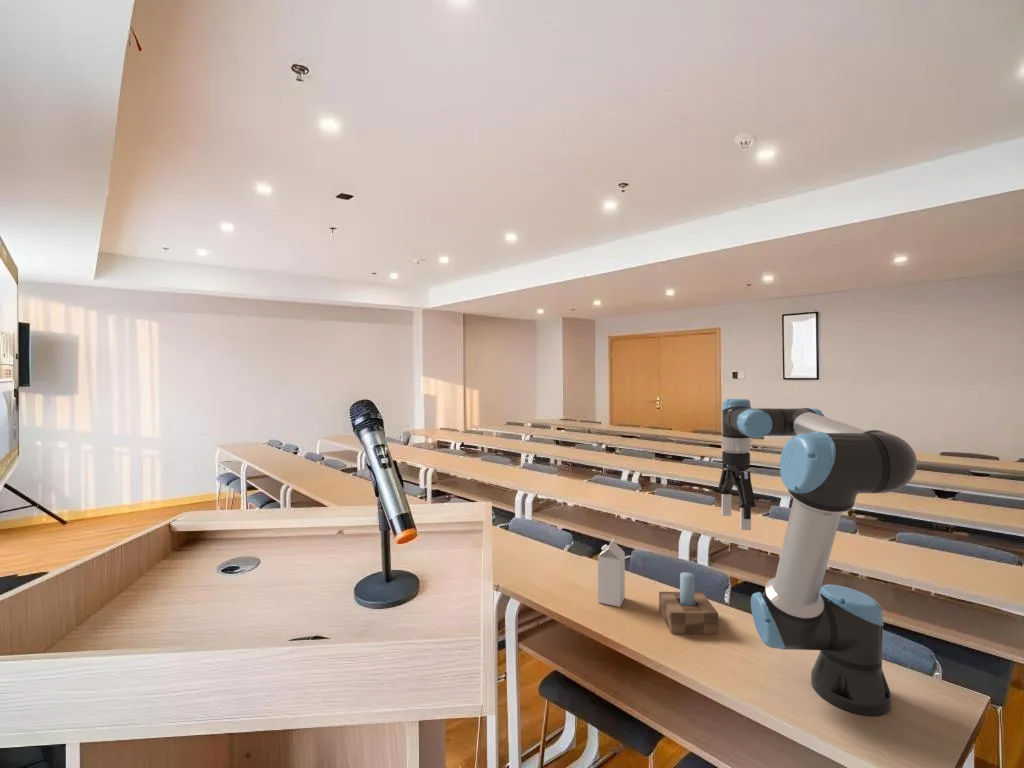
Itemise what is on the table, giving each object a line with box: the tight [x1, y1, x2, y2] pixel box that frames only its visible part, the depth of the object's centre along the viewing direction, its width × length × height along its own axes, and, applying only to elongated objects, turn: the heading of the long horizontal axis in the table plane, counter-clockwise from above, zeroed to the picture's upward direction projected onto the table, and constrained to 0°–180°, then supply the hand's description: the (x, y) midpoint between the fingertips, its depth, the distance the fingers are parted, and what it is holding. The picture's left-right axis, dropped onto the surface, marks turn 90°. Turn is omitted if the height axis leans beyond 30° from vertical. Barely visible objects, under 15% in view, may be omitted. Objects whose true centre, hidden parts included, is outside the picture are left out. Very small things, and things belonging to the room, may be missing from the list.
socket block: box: [658, 591, 719, 635], centre depth 145 cm, size 13×13×6 cm
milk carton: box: [597, 538, 626, 608], centre depth 158 cm, size 7×7×19 cm
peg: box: [679, 571, 696, 606], centre depth 145 cm, size 4×4×14 cm
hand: (735, 522), depth 146 cm, fingers open, 13 cm apart
